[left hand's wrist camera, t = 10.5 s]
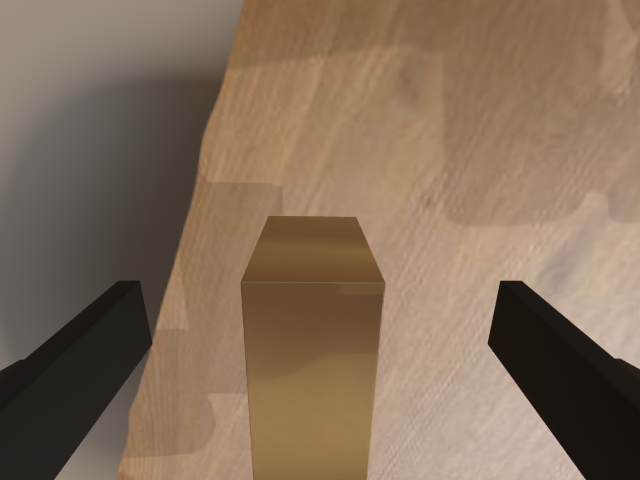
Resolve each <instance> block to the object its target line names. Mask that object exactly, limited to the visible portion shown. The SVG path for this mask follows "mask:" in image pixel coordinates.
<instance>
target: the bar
mask: <svg viewBox="0 0 640 480" xmlns="http://www.w3.org/2000/svg"><path fill="white" fill-rule="evenodd" d="M384 293H385V281H384V279H383V277H382V275H381V272H380V270H379V268H378V265H377V263H376V261H375V259H374V256H373V254H372V252H371V250H370V247H369V245H368V243H367V240H366V238H365V236H364V234H363V231H362V229H361V227H360V225H359V222H358V220H357V218H356V217H311V216H268V219H267V221H266V224H265V226H264V228H263V231H262V233H261V235H260V238H259V240H258V243H257V245H256V247H255V250H254V252H253V254H252V257H251V259H250V262H249V264H248V266H247V269H246V271H245V273H244V276H243V278H242V281H241V295H242V310H243V326H244V341H245V357H246V372H247V388H248V403H249V419H250V434H251V450H252V465H253V480H367V473H368V463H369V452H370V441H371V431H372V420H373V410H374V399H375V388H376V378H377V367H378V357H379V346H380V335H381V325H382V314H383V304H384Z"/></svg>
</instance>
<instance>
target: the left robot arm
mask: <svg viewBox="0 0 640 480" xmlns="http://www.w3.org/2000/svg"><path fill="white" fill-rule="evenodd" d="M151 345H152V339H151V335H150V330H149V325H148V320H147V315H146V310H145V305H144V300H143V295H142V290H141V285H140V281H118V282H116V283H115V284H114V285H113V286H112V287H110V288H109V289H108V290H107V291H106V292H105V293H103V294H102V295H101V296H100V297H99V298H97V299H96V300H95V301H94V302H93V303H91V304H90V305H89V306H88V307H87V308H85V309H84V310H83V311H82V312H81V313H79V314H78V315H77V316H76V317H75V318H74V319H72V320H71V321H70V322H69V323H67V324H66V325H65V326H64V327H63V328H61V329H60V330H59V331H58V332H57V333H55V334H54V335H53V336H52V337H51V338H50V339H48V340H47V341H46V342H45V343H44V344H42V345H41V346H40V347H39V348H38V349H36V350H35V351H34V352H33V353H32V354H30V355H29V356H28V357H27V358H26V359H24V360H19V361H17V362H15V363H14V364H12V365H10V366H8V367H6V368H5V369H3V370H1V371H0V480H54V479H55V478H56V476H57V475H58V474H59V472H60V471H61V470H62V468H63V467H64V465H65V464H66V463H67V461H68V460H69V458H70V457H71V456H72V454H73V453H74V452H75V450H76V449H77V447H78V446H79V445H80V443H81V442H82V440H83V439H84V438H85V436H86V435H87V434H88V432H89V431H90V429H91V428H92V427H93V425H94V424H95V423H96V421H97V420H98V418H99V417H100V416H101V414H102V413H103V411H104V410H105V409H106V407H107V406H108V405H109V403H110V402H111V400H112V399H113V398H114V396H115V395H116V393H117V392H118V391H119V389H120V388H121V387H122V385H123V384H124V382H125V381H126V380H127V378H128V377H129V376H130V374H131V373H132V371H133V370H134V369H135V367H136V366H137V364H138V363H139V362H140V360H141V359H142V358H143V356H144V355H145V353H146V352H147V351H148V349H149V348H150V346H151ZM488 345H489V347H490V348H491V349H492V351H493V352H494V353H495V355H496V356H497V358H498V359H499V360H500V362H501V363H502V364H503V366H504V367H505V369H506V370H507V371H508V373H509V374H510V376H511V377H512V378H513V380H514V381H515V382H516V384H517V385H518V387H519V388H520V389H521V391H522V392H523V393H524V395H525V396H526V398H527V399H528V400H529V402H530V403H531V405H532V406H533V407H534V409H535V410H536V411H537V413H538V414H539V416H540V417H541V418H542V420H543V421H544V423H545V424H546V425H547V427H548V428H549V429H550V431H551V432H552V434H553V435H554V436H555V438H556V439H557V440H558V442H559V443H560V445H561V446H562V447H563V449H564V450H565V452H566V453H567V454H568V456H569V457H570V458H571V460H572V461H573V463H574V464H575V465H576V467H577V468H578V470H579V471H580V472H581V474H582V475H583V476H584V478H585V479H586V480H640V369H638V368H636V367H635V366H633V365H631V364H629V363H627V362H625V361H624V360H622V359H614V358H613V357H612V356H611V355H610V354H608V353H607V352H606V351H605V350H604V349H602V348H601V347H600V346H599V345H598V344H596V343H595V342H594V341H593V340H592V339H590V338H589V337H588V336H587V335H586V334H585V333H583V332H582V331H581V330H580V329H579V328H577V327H576V326H575V325H574V324H573V323H571V322H570V321H569V320H568V319H567V318H565V317H564V316H563V315H562V314H561V313H559V312H558V311H557V310H556V309H555V308H553V307H552V306H551V305H550V304H549V303H547V302H546V301H545V300H544V299H543V298H541V297H540V296H539V295H538V294H537V293H536V292H534V291H533V290H532V289H531V288H530V287H528V286H527V285H526V284H525V283H524V282H522V281H500V285H499V290H498V295H497V300H496V305H495V310H494V315H493V320H492V325H491V329H490V334H489V339H488Z"/></svg>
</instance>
